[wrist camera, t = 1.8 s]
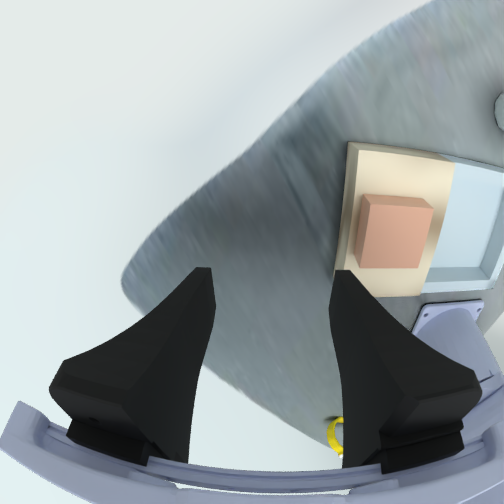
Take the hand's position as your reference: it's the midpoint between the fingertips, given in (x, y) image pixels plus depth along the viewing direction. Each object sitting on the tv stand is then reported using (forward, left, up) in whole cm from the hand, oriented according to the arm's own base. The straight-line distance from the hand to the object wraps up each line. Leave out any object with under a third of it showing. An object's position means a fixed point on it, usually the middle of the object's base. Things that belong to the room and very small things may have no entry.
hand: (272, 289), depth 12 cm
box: (0, -15, -8) cm, 17 cm away
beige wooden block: (0, -8, -8) cm, 11 cm away
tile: (0, -7, -6) cm, 9 cm away
